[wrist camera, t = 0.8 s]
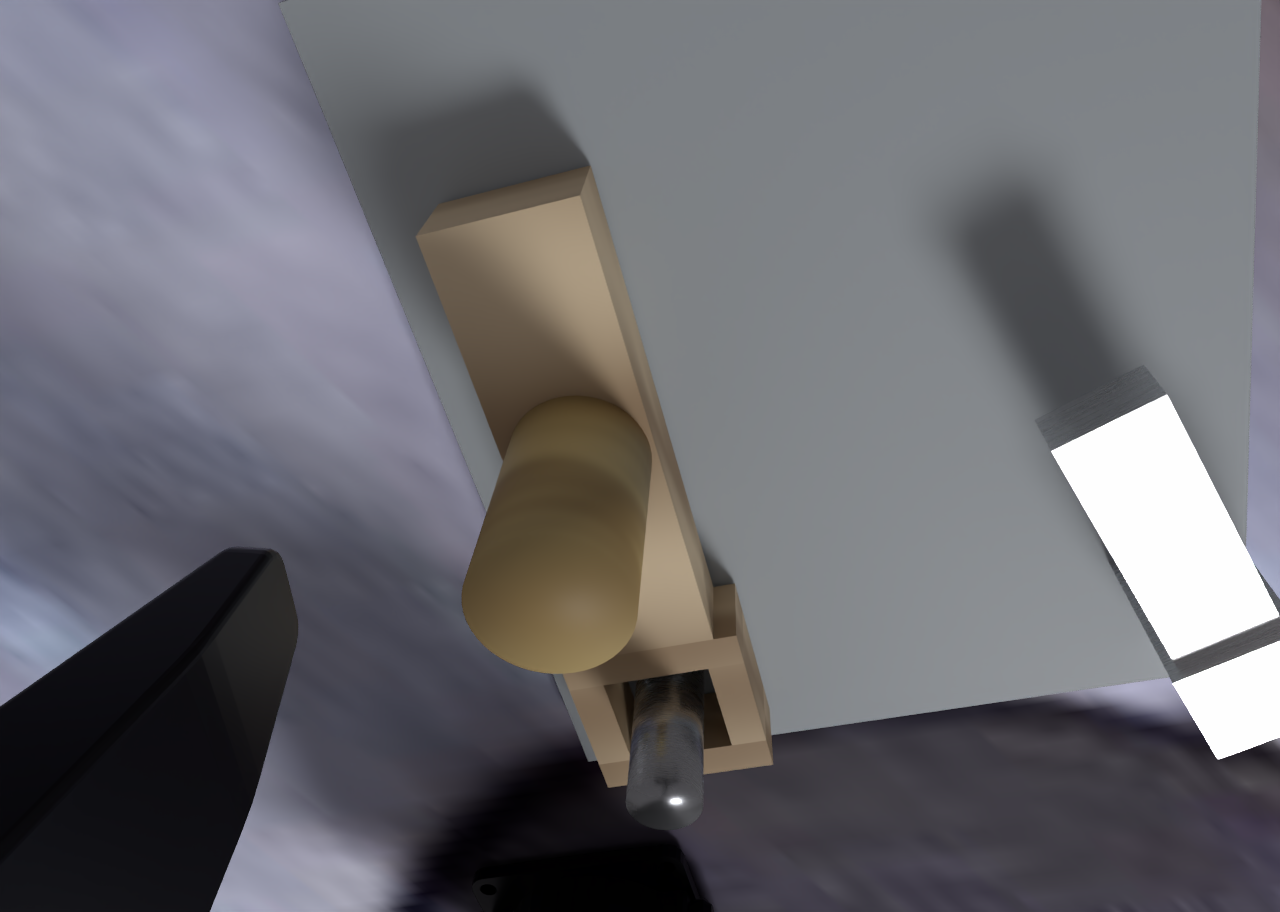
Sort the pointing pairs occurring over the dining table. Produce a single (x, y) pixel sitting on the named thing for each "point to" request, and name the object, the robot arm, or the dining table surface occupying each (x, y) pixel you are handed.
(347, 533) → the dining table surface
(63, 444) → the dining table surface
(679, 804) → the peg
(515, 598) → the latch bar
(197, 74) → the dining table surface
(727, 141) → the board
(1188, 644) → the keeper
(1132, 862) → the dining table surface
